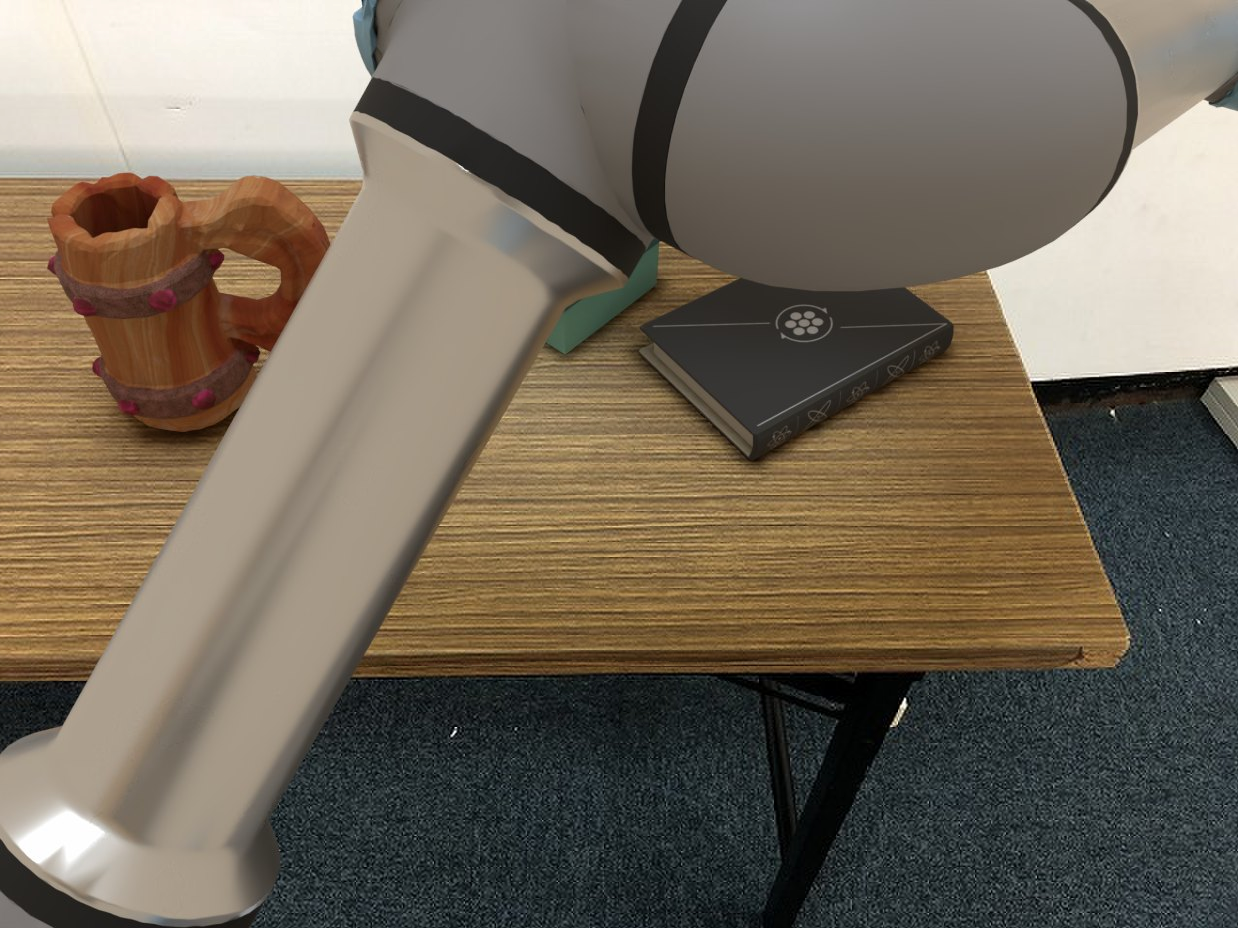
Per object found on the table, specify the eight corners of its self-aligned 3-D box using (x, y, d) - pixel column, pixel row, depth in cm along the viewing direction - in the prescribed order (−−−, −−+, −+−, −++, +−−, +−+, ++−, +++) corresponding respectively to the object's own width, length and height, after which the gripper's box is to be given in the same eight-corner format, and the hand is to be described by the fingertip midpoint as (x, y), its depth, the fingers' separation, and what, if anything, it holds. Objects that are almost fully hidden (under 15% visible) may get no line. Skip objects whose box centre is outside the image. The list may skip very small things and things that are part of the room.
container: (562, 362, 90) (561, 307, 86) (453, 293, 95) (447, 237, 91) (665, 282, 97) (670, 227, 93) (559, 222, 102) (558, 167, 98)
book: (753, 464, 84) (758, 438, 81) (636, 352, 91) (638, 325, 89) (948, 353, 92) (958, 326, 90) (827, 259, 100) (833, 232, 98)
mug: (95, 454, 82) (-11, 245, 67) (124, 355, 89) (33, 145, 74) (354, 442, 84) (306, 235, 69) (362, 346, 91) (321, 138, 76)
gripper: (796, 216, 72) (456, 174, 74) (812, 54, 85) (525, 22, 87) (814, 114, 66) (446, 71, 68) (829, -42, 79) (521, -74, 81)
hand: (490, 44), depth 77 cm, fingers closed on coffee cup, 8 cm apart
